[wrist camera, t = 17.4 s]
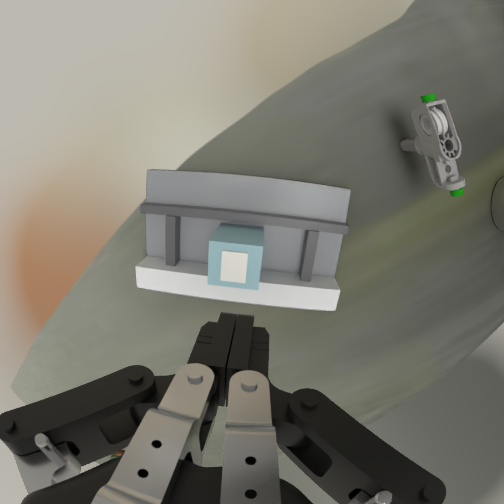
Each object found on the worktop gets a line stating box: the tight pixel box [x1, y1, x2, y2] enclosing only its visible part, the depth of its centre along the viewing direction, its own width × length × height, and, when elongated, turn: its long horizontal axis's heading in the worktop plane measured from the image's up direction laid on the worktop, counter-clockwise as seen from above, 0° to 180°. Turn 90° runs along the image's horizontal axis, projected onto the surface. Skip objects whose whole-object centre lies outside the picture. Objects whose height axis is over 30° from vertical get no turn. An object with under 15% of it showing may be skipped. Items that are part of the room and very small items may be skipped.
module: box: [207, 223, 264, 290], centre depth 29 cm, size 5×4×7 cm
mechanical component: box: [400, 93, 466, 197], centre depth 23 cm, size 3×10×10 cm, turn 25°
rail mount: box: [136, 169, 351, 311], centre depth 31 cm, size 24×16×5 cm, turn 84°
